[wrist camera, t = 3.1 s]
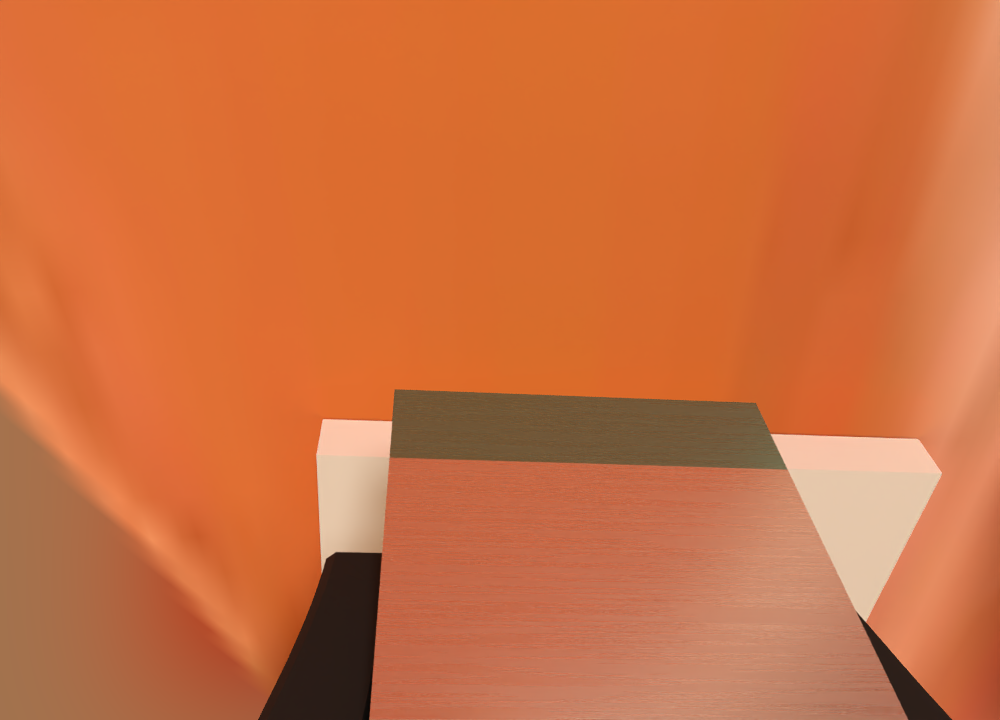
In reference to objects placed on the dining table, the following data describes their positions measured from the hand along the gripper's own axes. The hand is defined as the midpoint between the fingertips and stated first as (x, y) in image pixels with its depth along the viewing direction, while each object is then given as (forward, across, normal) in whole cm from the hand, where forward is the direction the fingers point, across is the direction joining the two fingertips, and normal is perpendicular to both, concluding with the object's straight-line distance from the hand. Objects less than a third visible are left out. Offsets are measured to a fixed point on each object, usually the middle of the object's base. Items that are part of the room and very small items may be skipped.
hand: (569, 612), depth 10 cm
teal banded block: (+1, 0, 0) cm, 1 cm away
